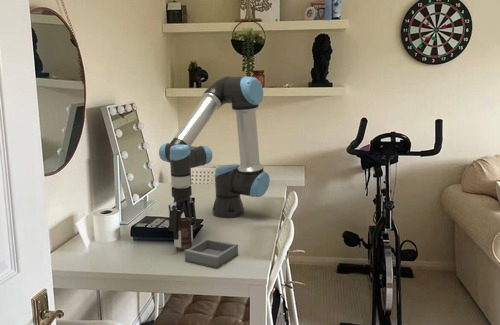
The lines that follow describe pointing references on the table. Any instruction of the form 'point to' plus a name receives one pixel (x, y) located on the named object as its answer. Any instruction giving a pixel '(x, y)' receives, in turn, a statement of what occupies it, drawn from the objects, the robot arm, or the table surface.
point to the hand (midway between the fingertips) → (183, 243)
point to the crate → (211, 253)
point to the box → (185, 234)
